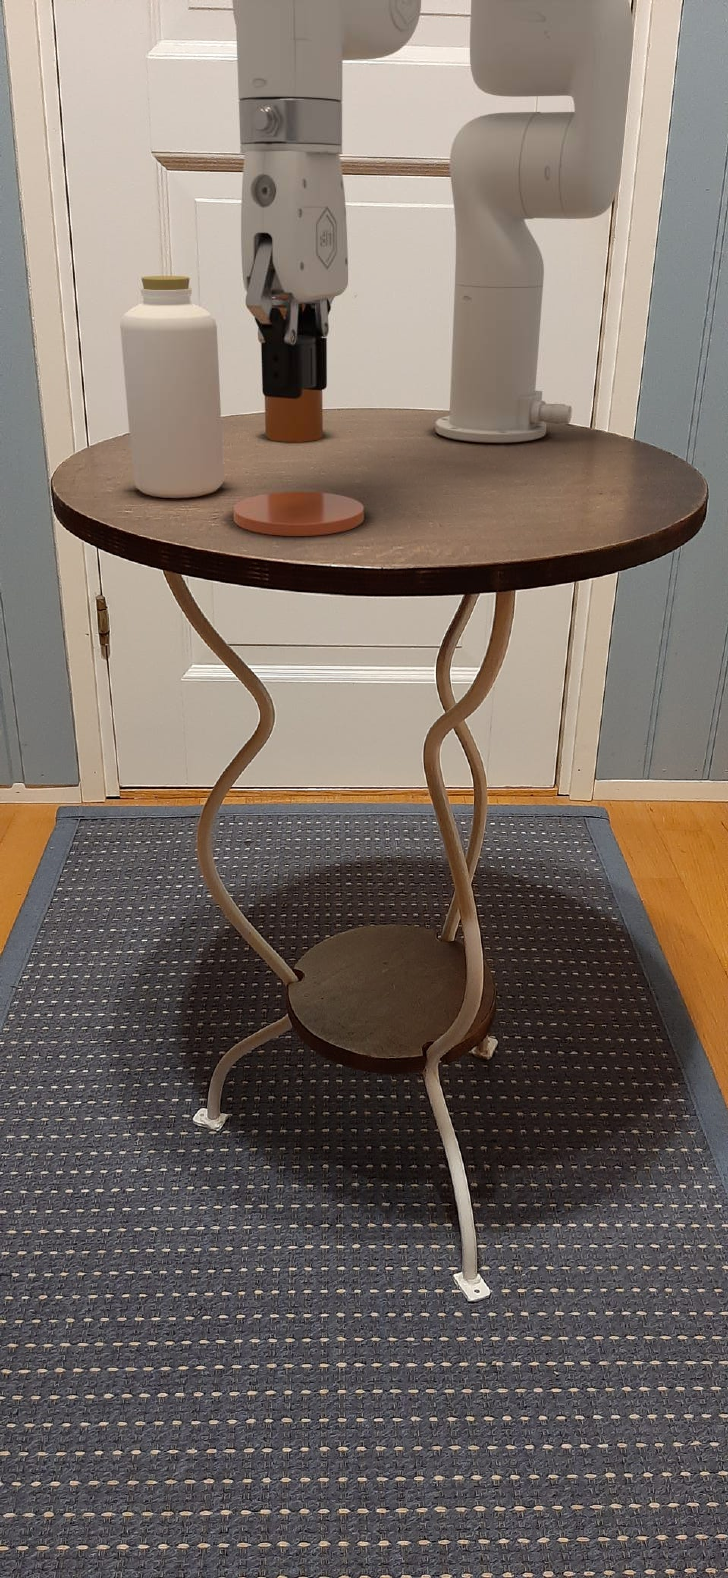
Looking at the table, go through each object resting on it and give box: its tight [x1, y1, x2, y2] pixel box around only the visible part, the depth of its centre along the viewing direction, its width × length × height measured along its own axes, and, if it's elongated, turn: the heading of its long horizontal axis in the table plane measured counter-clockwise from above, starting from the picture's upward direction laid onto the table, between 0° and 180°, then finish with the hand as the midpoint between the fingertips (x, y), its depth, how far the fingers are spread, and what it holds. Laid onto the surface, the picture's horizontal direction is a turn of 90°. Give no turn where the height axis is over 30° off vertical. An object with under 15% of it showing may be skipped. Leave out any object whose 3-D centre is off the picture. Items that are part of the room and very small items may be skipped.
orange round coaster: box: [232, 491, 365, 537], centre depth 97 cm, size 11×11×1 cm
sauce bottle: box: [264, 295, 324, 443], centre depth 125 cm, size 6×6×18 cm
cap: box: [295, 335, 317, 389], centre depth 92 cm, size 4×4×4 cm
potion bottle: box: [119, 275, 225, 499], centre depth 102 cm, size 8×8×18 cm
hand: (295, 390), depth 92 cm, fingers closed on cap, 4 cm apart
